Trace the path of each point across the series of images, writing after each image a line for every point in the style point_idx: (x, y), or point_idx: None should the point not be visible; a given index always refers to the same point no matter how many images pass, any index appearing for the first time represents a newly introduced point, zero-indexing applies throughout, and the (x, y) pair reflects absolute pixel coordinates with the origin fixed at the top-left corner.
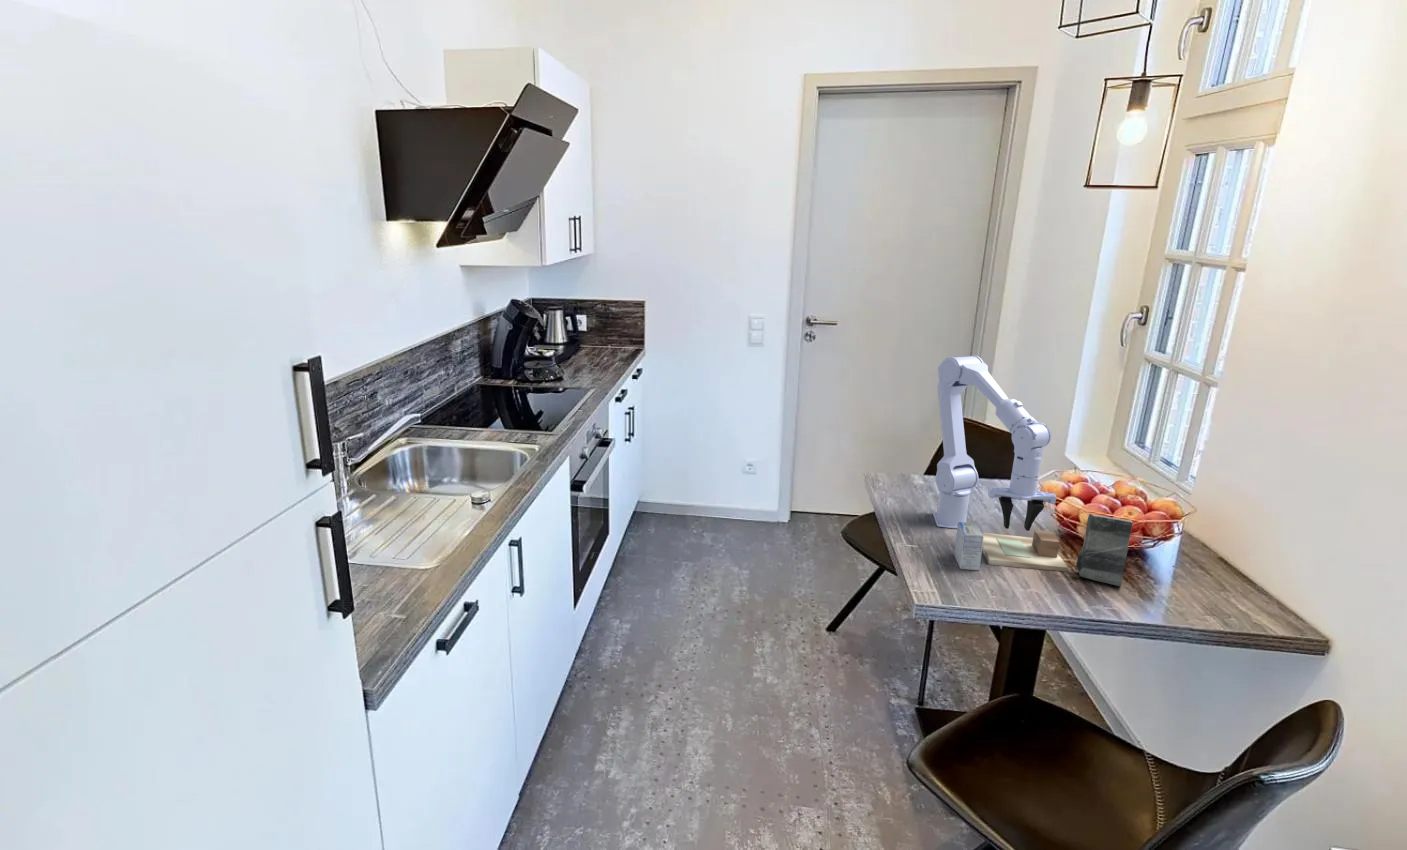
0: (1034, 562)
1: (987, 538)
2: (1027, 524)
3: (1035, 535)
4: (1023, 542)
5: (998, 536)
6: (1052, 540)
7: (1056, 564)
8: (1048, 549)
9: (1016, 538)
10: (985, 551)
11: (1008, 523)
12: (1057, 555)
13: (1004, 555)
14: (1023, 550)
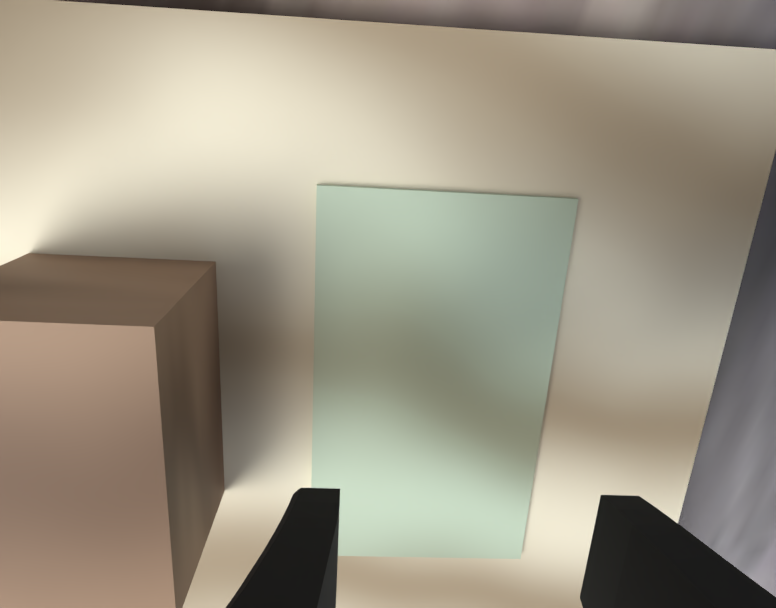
0: (308, 69)
1: None
2: (331, 570)
3: (185, 533)
4: None
5: (481, 603)
6: None
7: (63, 60)
8: (91, 280)
9: None
10: (743, 261)
11: (673, 543)
12: None
13: (586, 193)
14: (347, 345)
